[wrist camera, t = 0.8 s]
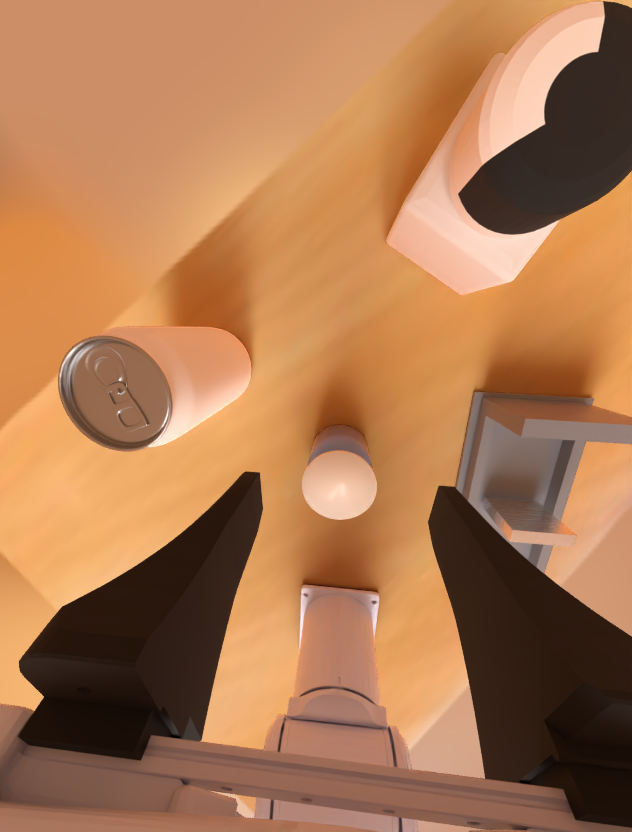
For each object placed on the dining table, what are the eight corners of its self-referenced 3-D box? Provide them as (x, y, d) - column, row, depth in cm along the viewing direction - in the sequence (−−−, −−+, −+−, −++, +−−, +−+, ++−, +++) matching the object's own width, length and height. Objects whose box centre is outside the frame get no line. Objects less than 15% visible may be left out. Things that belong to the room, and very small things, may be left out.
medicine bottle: (530, 203, 21) (767, 45, 9) (461, 297, 23) (584, 265, 11) (446, 140, 20) (585, -113, 9) (383, 243, 22) (427, 150, 11)
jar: (366, 479, 27) (373, 522, 21) (310, 475, 28) (300, 516, 22) (371, 425, 26) (380, 455, 20) (312, 421, 26) (302, 449, 20)
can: (235, 315, 24) (140, 304, 13) (264, 390, 26) (202, 439, 14) (167, 341, 25) (22, 353, 14) (198, 412, 27) (92, 474, 16)
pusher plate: (535, 511, 26) (572, 547, 22) (482, 507, 26) (509, 541, 22) (538, 501, 26) (576, 535, 22) (485, 497, 26) (512, 530, 22)
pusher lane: (536, 573, 29) (588, 638, 23) (440, 564, 29) (465, 625, 23) (591, 397, 24) (675, 421, 18) (473, 391, 24) (516, 411, 18)
